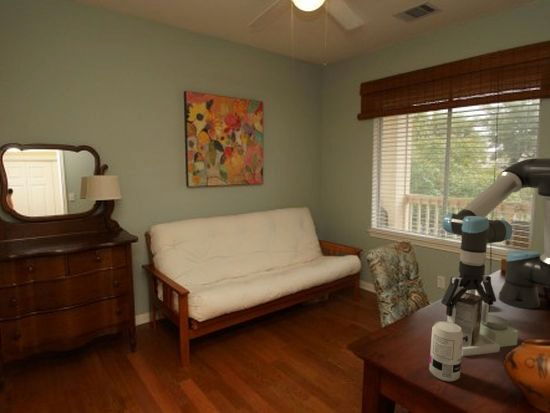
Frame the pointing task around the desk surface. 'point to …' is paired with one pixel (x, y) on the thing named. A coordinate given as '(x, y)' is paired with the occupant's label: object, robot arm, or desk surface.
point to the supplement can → (446, 351)
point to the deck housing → (492, 337)
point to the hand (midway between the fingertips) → (467, 322)
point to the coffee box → (469, 317)
